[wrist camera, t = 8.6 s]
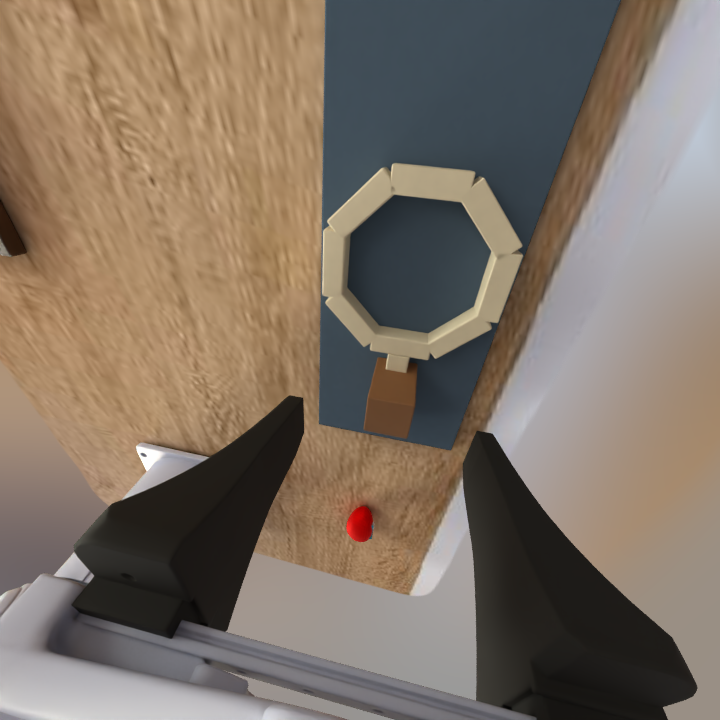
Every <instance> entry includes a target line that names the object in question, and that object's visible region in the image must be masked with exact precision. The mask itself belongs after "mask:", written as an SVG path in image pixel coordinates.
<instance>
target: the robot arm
mask: <svg viewBox="0 0 720 720" xmlns="http://www.w3.org/2000/svg"><path fill="white" fill-rule="evenodd" d="M303 434H304V407H303V398H301V397H295V396H288V397H287V398H286V399H284V400H283V401H282V402H281V403H280V404H279V405H278V406H277V407H276V408H274V409H273V410H272V411H271V412H270V413H269V414H268V415H266V416H265V417H264V418H263V419H262V420H260V421H259V422H258V423H257V424H256V425H254V426H253V427H252V428H251V429H249V430H248V431H247V432H245V433H244V434H243V435H241V436H240V437H239V438H237V439H236V440H235V441H233V442H232V443H231V444H229V445H228V446H226V447H225V448H223V449H222V450H220V451H219V452H217V453H216V454H214V455H212V456H211V457H206V456H201V455H197V454H192V453H188V452H183V451H179V450H174V449H170V448H165V447H161V446H156V445H152V444H147V443H139V444H138V445H137V446H136V450H137V452H138V454H139V456H140V458H141V460H142V462H143V464H144V466H145V468H146V471H147V472H146V473H145V474H144V475H143V476H142V477H141V479H140V480H139V481H138V482H137V483H136V484H135V485H134V486H133V487H132V489H131V490H130V491H129V492H128V493H127V494H126V495H125V496H124V497H123V499H122V500H120V501H118V502H115V503H113V504H111V505H110V506H109V507H108V508H107V509H106V510H105V511H104V512H103V513H102V515H101V516H100V517H99V518H98V519H97V520H96V521H95V522H94V523H93V525H91V527H90V528H89V529H88V530H87V531H86V532H85V533H84V534H83V535H82V537H81V538H80V539H79V540H78V541H77V542H76V543H75V545H74V551H75V552H74V553H73V554H72V556H71V557H70V558H69V559H68V560H67V561H66V562H65V564H63V566H62V567H61V568H60V569H59V570H58V571H57V572H56V573H55V574H54V575H50V574H46V573H45V574H41V575H40V576H39V577H38V578H37V579H36V580H35V581H34V582H33V583H32V584H30V583H28V584H25V585H23V586H22V587H21V588H16V589H13V590H10V591H7V592H5V593H4V594H3V595H2V596H0V720H347V719H344V718H340V717H337V716H333V715H330V714H326V713H322V712H319V711H315V710H311V709H307V708H303V707H299V706H295V705H290V704H286V703H282V702H278V701H273V700H268V699H264V698H259V697H255V696H254V695H253V694H251V693H250V692H249V691H248V689H247V688H248V682H247V681H246V680H244V679H242V678H239V677H237V676H235V675H233V674H230V673H228V672H232V673H235V674H238V675H242V676H246V677H249V678H253V679H256V680H259V681H263V682H266V683H270V684H273V685H277V686H280V687H284V688H287V689H291V690H294V691H297V692H301V693H304V694H308V695H311V696H315V697H319V698H322V699H325V700H329V701H332V702H336V703H339V704H343V705H346V706H350V707H353V708H356V709H360V710H363V711H367V712H371V713H374V714H377V715H381V716H384V717H388V718H391V719H395V720H668V719H667V716H666V714H665V712H664V709H663V707H664V706H668V705H671V704H674V703H677V702H680V701H683V700H686V699H688V698H690V697H692V696H693V695H694V694H695V693H696V691H697V685H696V682H695V680H694V678H693V676H692V674H691V672H690V670H689V668H688V666H687V664H686V663H685V660H684V658H683V657H682V655H681V653H680V651H679V649H678V647H677V646H676V644H675V642H674V640H673V638H672V637H671V636H670V635H669V634H667V633H666V632H665V631H664V630H663V629H662V628H661V627H659V626H658V625H657V624H656V623H655V622H654V621H652V620H651V619H650V618H649V617H648V616H647V615H646V614H644V613H643V612H642V611H641V610H640V609H639V608H637V607H636V606H635V605H634V604H633V603H632V602H631V601H630V600H628V599H627V598H626V597H625V596H624V595H623V594H622V593H621V592H620V591H619V590H618V589H617V588H616V587H615V586H614V585H613V584H611V583H610V582H609V581H608V580H607V579H606V578H605V577H604V576H603V575H602V574H601V573H600V572H599V571H598V570H597V569H596V568H595V567H594V566H593V565H592V564H591V563H590V562H589V561H588V560H587V559H586V558H585V557H584V555H583V554H582V553H581V552H580V551H579V550H578V549H577V548H576V547H575V546H574V545H573V544H572V543H571V542H570V541H569V539H568V538H567V537H566V536H565V535H564V534H563V532H562V531H561V530H560V529H559V528H558V527H557V525H556V524H555V523H554V522H553V521H552V520H551V519H550V517H549V516H548V515H547V514H546V512H545V511H544V510H543V508H542V507H541V506H540V504H539V503H538V502H537V500H536V499H535V498H534V496H533V495H532V494H531V492H530V491H529V489H528V488H527V487H526V485H525V484H524V482H523V481H522V479H521V478H520V476H519V475H518V473H517V472H516V470H515V469H514V467H513V466H512V464H511V462H510V461H509V459H508V458H507V456H506V454H505V453H504V451H503V450H502V448H501V446H500V445H499V443H498V442H497V440H496V438H495V437H494V435H493V434H491V433H486V432H481V431H477V432H476V434H475V436H474V439H473V441H472V443H471V446H470V448H469V450H468V453H467V455H466V458H465V460H464V462H463V489H464V496H465V503H466V510H467V516H468V523H469V529H470V535H471V542H472V550H473V560H474V578H475V600H476V639H477V640H476V641H477V690H476V701H475V700H471V699H468V698H464V697H460V696H456V695H453V694H449V693H446V692H442V691H439V690H435V689H431V688H428V687H424V686H420V685H417V684H413V683H410V682H406V681H402V680H399V679H395V678H391V677H388V676H384V675H380V674H377V673H373V672H370V671H366V670H362V669H359V668H355V667H351V666H347V665H344V664H340V663H336V662H333V661H329V660H326V659H322V658H318V657H315V656H311V655H307V654H304V653H300V652H297V651H293V650H289V649H286V648H282V647H279V646H275V645H271V644H268V643H264V642H260V641H257V640H253V639H249V638H245V637H242V636H238V635H234V634H231V633H228V632H225V631H227V629H228V626H229V622H230V620H231V616H232V613H233V610H234V607H235V604H236V601H237V598H238V595H239V592H240V589H241V586H242V583H243V580H244V577H245V574H246V571H247V568H248V565H249V563H250V560H251V557H252V554H253V551H254V549H255V546H256V543H257V541H258V538H259V535H260V532H261V530H262V527H263V525H264V522H265V519H266V517H267V514H268V511H269V509H270V507H271V505H272V502H273V500H274V498H275V496H276V494H277V492H278V490H279V488H280V486H281V484H282V482H283V480H284V478H285V476H286V474H287V472H288V470H289V468H290V466H291V464H292V462H293V460H294V458H295V456H296V453H297V451H298V448H299V445H300V442H301V439H302V436H303ZM224 670H225V671H224ZM226 671H228V672H226Z"/></svg>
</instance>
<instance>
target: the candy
mask: <svg viewBox="0 0 720 720" xmlns="http://www.w3.org/2000/svg"><path fill="white" fill-rule="evenodd" d="M346 528H347V533H348V534H349V536H350V537H351V538H352V539H353V540H355V541H358V542H365V541H367V540H368V539H372V535H373V529H374V522H373V518H372V514H371V511H370V510H369V509H368V508H367V507H365V506H361V507H358V508H357V509H356V510H354V512H353V513H352V514H351V515H350V517H349V519H348V521H347V526H346Z"/></svg>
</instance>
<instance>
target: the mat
mask: <svg viewBox="0 0 720 720" xmlns="http://www.w3.org/2000/svg"><path fill="white" fill-rule="evenodd" d="M620 2H621V0H325V58H324V123H323V189H322V255H321V321H320V387H319V424H321V425H326V426H331V427H336V428H341V429H346V430H351V431H356V432H361V433H366V434H371V435H376V436H381V437H386V438H391V439H396V440H401V441H406V442H411V443H416V444H421V445H426V446H431V447H436V448H441V449H446V450H451V449H452V446H453V444H454V441H455V438H456V436H457V433H458V430H459V428H460V425H461V422H462V420H463V417H464V414H465V412H466V409H467V407H468V404H469V401H470V399H471V396H472V393H473V391H474V388H475V385H476V383H477V380H478V377H479V375H480V372H481V370H482V367H483V364H484V362H485V359H486V356H487V354H488V351H489V348H490V346H491V343H492V340H493V338H494V335H495V333H496V330H497V327H498V325H499V322H500V319H501V317H502V314H503V311H504V309H505V306H506V303H507V301H508V298H509V296H510V293H511V290H512V288H513V285H514V282H515V280H516V277H517V274H518V272H519V269H520V266H521V264H522V261H523V259H524V256H525V253H526V251H527V248H528V245H529V243H530V240H531V237H532V235H533V232H534V229H535V227H536V224H537V222H538V219H539V216H540V214H541V211H542V208H543V206H544V203H545V200H546V198H547V195H548V192H549V190H550V187H551V185H552V182H553V179H554V177H555V174H556V171H557V169H558V166H559V163H560V161H561V158H562V155H563V153H564V150H565V148H566V145H567V142H568V140H569V137H570V134H571V132H572V129H573V126H574V124H575V121H576V118H577V116H578V113H579V111H580V108H581V105H582V103H583V100H584V97H585V95H586V92H587V89H588V87H589V84H590V81H591V79H592V76H593V74H594V71H595V68H596V66H597V63H598V60H599V58H600V55H601V52H602V50H603V47H604V44H605V42H606V39H607V37H608V34H609V31H610V29H611V26H612V23H613V21H614V18H615V15H616V13H617V10H618V7H619V5H620ZM393 163H403V164H412V165H422V166H432V167H441V168H451V169H461V170H470V171H474V172H475V178H474V180H475V179H476V178H478V177H479V176H481V177H483V178H485V180H486V181H487V183H488V185H489V187H490V188H491V190H492V192H493V194H494V196H495V197H496V199H497V201H498V203H499V204H500V206H501V208H502V210H503V211H504V213H505V215H506V217H507V219H508V220H509V222H510V224H511V226H512V227H513V229H514V231H515V233H516V234H517V236H518V238H519V240H520V242H521V243H522V247H521V248H520V249H518V251H519V252H520V253H521V254H522V255H523V258H522V260H521V263H520V266H519V268H518V271H517V274H516V276H515V279H514V282H513V284H512V287H511V290H510V292H509V295H508V298H507V301H506V303H505V306H504V309H503V311H502V314H501V317H500V319H499V322H498V323H493V322H490V324H491V326H492V329H491V330H489V331H487V332H485V333H484V334H482V335H480V336H478V337H476V338H474V339H472V340H471V341H469V342H467V343H465V344H463V345H461V346H459V347H457V348H456V349H454V350H452V351H450V352H448V353H446V354H444V355H443V356H441V357H439V358H437V359H435V358H434V357H433V356H432V354H431V353H430V357H429V359H428V360H423V359H417V358H411V357H410V359H409V362H410V363H416V364H417V365H418V366H417V385H416V404H415V410H414V414H413V418H412V422H411V426H410V430H409V434H408V438H407V439H405V438H400V437H395V436H390V435H385V434H379V433H374V432H369V431H365V430H364V421H365V413H366V406H367V398H368V394H369V390H370V386H371V382H372V378H373V374H374V370H375V366H376V362H377V358H378V357H381V358H387V357H388V354H387V353H381V352H375V351H371V350H370V344H371V343H370V344H369V345H367V346H365V347H363V346H362V345H361V343H360V342H359V341H358V340H357V339H356V338H355V337H354V335H353V334H352V333H351V332H350V331H349V330H348V329H347V328H346V326H345V325H344V324H343V323H342V322H341V321H340V320H339V318H338V317H337V316H336V315H335V314H334V313H333V312H332V310H331V309H330V308H329V307H328V306H327V305H326V303H325V302H326V300H327V299H328V298H329V297H327V296H323V294H322V281H323V231H324V229H325V228H327V227H328V226H330V225H329V224H328V222H327V221H328V219H329V218H330V217H331V216H332V215H333V214H334V213H335V212H336V211H337V210H338V209H340V208H341V207H342V206H343V205H344V204H345V203H346V202H347V201H348V200H349V199H350V198H351V197H352V196H353V195H354V194H355V193H356V192H357V191H358V190H359V189H360V188H361V187H362V186H363V185H364V184H365V183H367V182H368V181H369V180H370V179H371V178H372V177H373V176H374V175H375V174H376V173H377V172H378V171H379V170H380V169H381V168H383V167H387V168H388V169H389V171H390V172H391V168H392V164H393ZM490 254H491V250H490V248H489V247H488V245H487V243H486V242H485V240H484V238H483V237H482V235H481V234H480V232H479V230H478V229H477V227H476V225H475V224H474V222H473V220H472V219H471V217H470V216H469V214H468V212H467V211H466V209H465V207H464V206H463V204H462V202H454V201H446V200H437V199H428V198H419V197H411V196H402V195H393V196H392V197H391V198H390V199H389V200H388V201H387V202H386V203H384V204H383V205H382V206H381V207H380V208H379V209H378V210H377V211H375V212H374V213H373V214H372V215H371V216H370V217H369V218H368V219H366V220H365V221H364V222H363V223H362V224H361V225H360V226H359V227H357V228H356V229H355V230H354V231H353V232H352V233H351V236H350V252H349V268H348V283H347V288H348V289H349V290H350V291H351V292H352V294H353V295H354V296H355V297H356V298H357V300H358V301H359V302H360V303H361V304H362V306H363V307H364V308H365V309H366V310H367V312H368V313H369V314H370V315H371V316H372V318H373V319H374V320H375V321H376V322H377V324H378V325H379V326H385V327H392V328H398V329H404V330H410V331H416V332H423V333H430V332H431V331H433V330H435V329H437V328H438V327H440V326H442V325H443V324H445V323H447V322H448V321H450V320H452V319H454V318H455V317H457V316H459V315H460V314H462V313H464V312H465V311H467V310H469V309H471V308H472V307H474V305H475V301H476V298H477V295H478V292H479V289H480V285H481V282H482V279H483V276H484V273H485V270H486V266H487V263H488V260H489V257H490Z"/></svg>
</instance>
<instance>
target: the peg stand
mask: <svg viewBox="0 0 720 720" xmlns="http://www.w3.org/2000/svg"><path fill="white" fill-rule="evenodd" d="M25 253H26V250H25V248H24V246H23V244H22V242H21V240H20V238H19V236H18V234H17V232H16V230H15V228H14V227H13V225H12V223H11V221H10V219H9V217H8V215H7V213H6V211H5V209H4V207H3V205H2V203H1V201H0V255H4V256H10V257H12V256H17V255H21V254H25Z"/></svg>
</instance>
